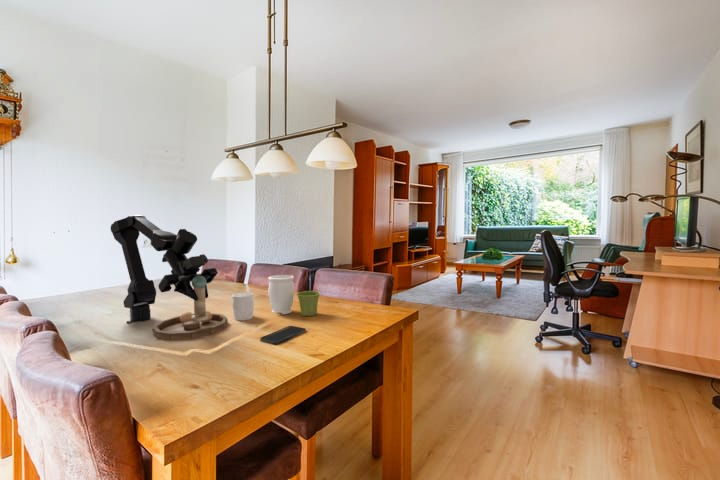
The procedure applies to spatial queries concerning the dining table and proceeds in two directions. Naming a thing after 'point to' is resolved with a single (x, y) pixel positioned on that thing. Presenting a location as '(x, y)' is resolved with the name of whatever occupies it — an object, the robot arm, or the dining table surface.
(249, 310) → the white cup
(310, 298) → the plant pot
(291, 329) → the phone
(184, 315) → the loose bead
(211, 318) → the loose bead
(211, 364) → the dining table surface
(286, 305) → the jar
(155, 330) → the walnut tray
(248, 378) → the dining table surface
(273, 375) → the dining table surface
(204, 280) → the bead post
